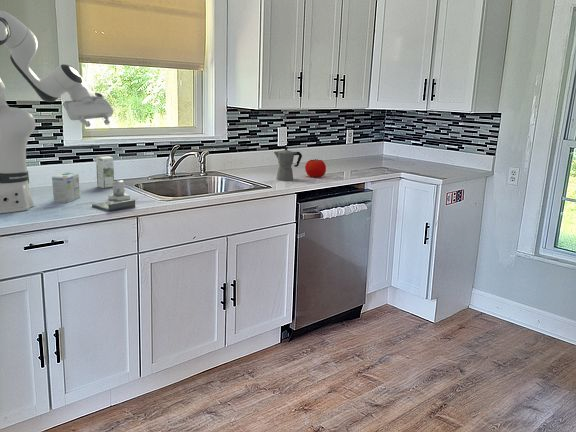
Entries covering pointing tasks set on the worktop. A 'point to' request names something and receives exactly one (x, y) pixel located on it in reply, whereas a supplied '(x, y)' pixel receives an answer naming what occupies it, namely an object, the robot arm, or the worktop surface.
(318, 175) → the tomato
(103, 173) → the syrup box
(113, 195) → the hub
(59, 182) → the light bulb box
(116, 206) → the seat plate
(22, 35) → the robot arm
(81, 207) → the worktop surface
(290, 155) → the coffeepot
